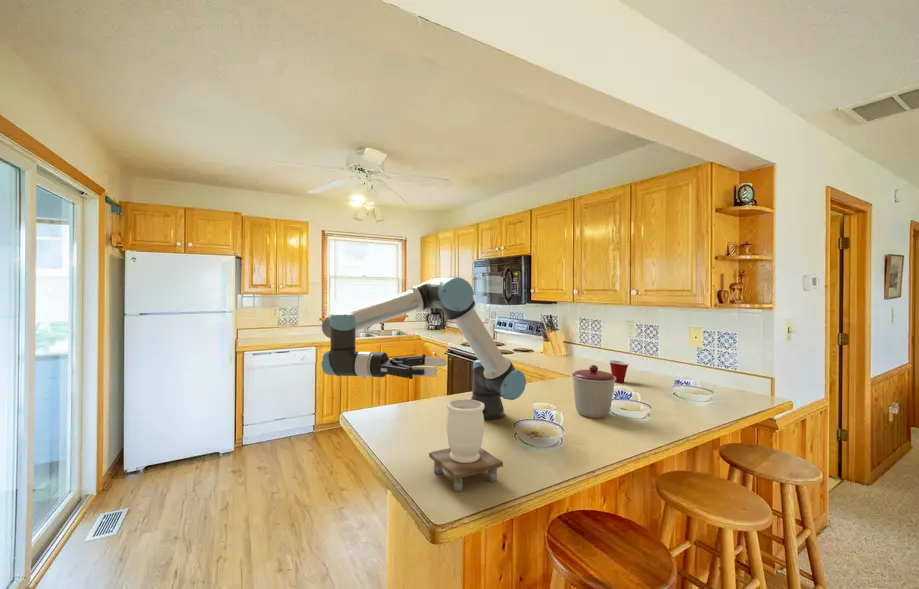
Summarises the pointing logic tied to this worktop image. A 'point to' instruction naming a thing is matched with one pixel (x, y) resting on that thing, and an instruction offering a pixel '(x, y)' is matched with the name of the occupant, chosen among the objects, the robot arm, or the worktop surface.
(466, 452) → the jar
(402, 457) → the worktop surface
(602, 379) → the canister
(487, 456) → the wooden trivet stand
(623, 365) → the plastic cup
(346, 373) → the robot arm
